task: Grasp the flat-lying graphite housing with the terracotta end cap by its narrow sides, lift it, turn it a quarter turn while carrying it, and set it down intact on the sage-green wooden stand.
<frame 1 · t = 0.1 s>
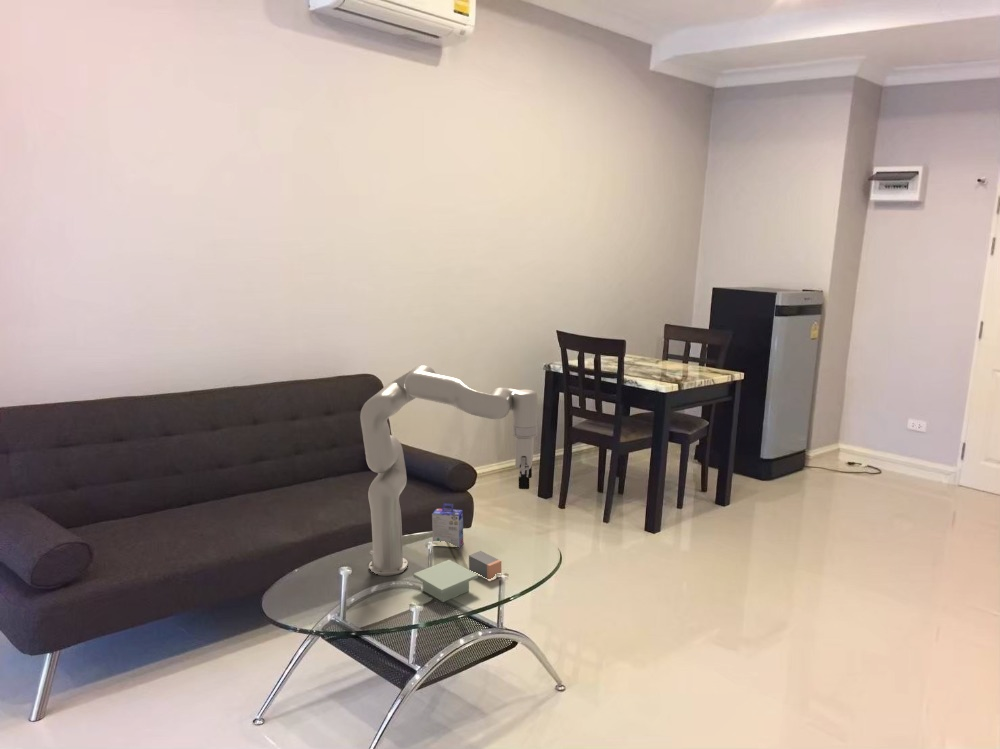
hand: (525, 483, 249), 31 cm above the table, tool pointing down, fingers open, 9 cm apart
housing: (485, 574, 258), on the table
ink cartridge box: (448, 545, 279), on the table
stand: (446, 590, 247), on the table
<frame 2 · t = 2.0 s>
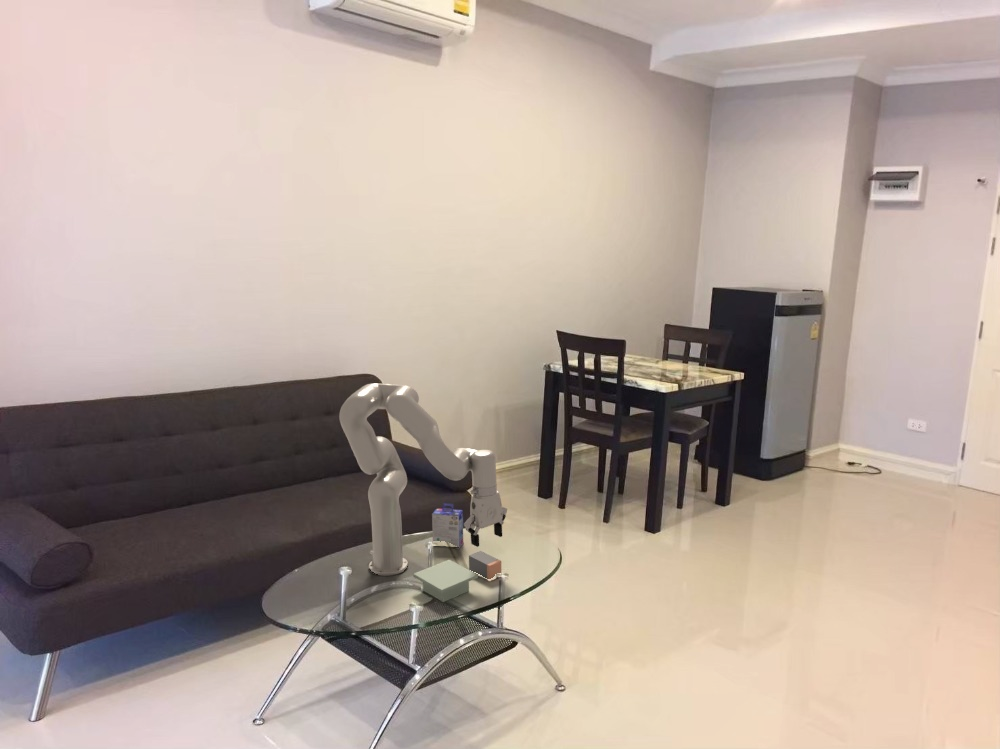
hand: (486, 540, 255), 12 cm above the table, tool pointing down, fingers open, 9 cm apart
nothing on the table moved.
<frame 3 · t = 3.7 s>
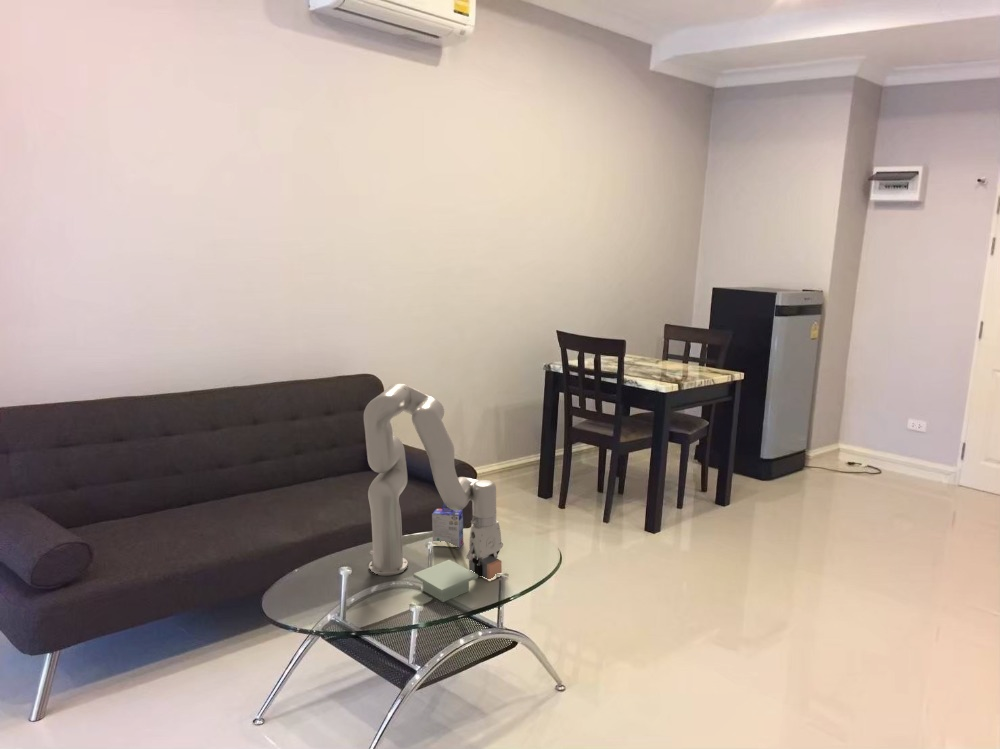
hand: (485, 571, 257), 1 cm above the table, tool pointing down, fingers closed on housing, 5 cm apart
housing: (485, 573, 257), on the table, touching gripper
everything else where it was.
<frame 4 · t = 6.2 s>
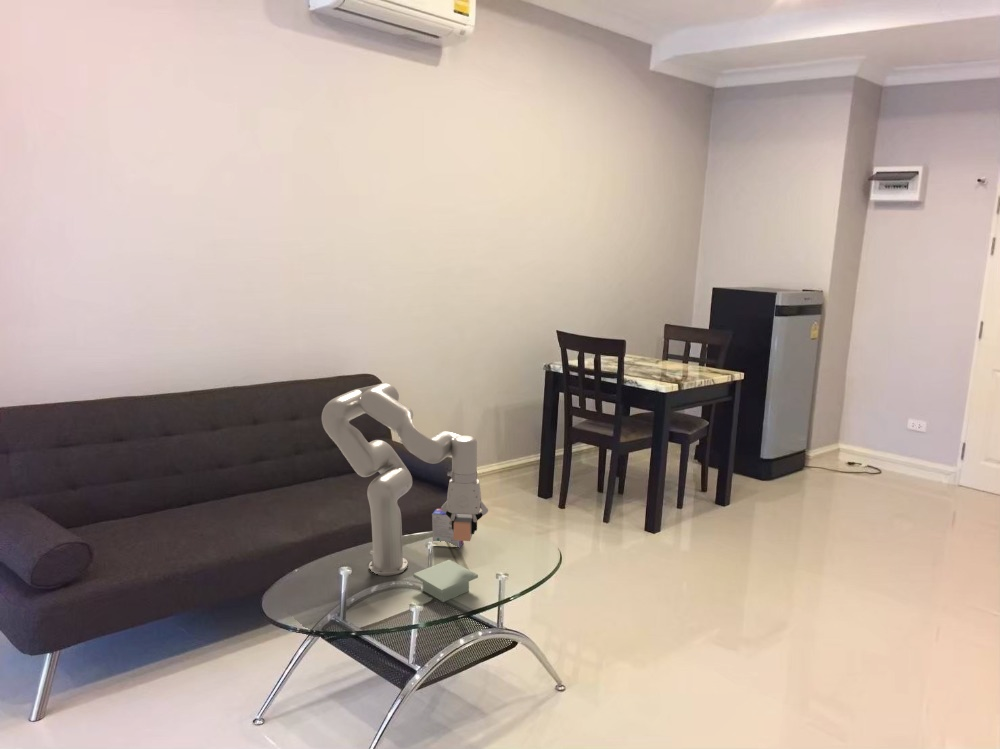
hand: (464, 531, 249), 17 cm above the table, tool pointing down, fingers closed on housing, 5 cm apart
housing: (464, 533, 249), point 16 cm above the table, touching gripper
everything else where it was.
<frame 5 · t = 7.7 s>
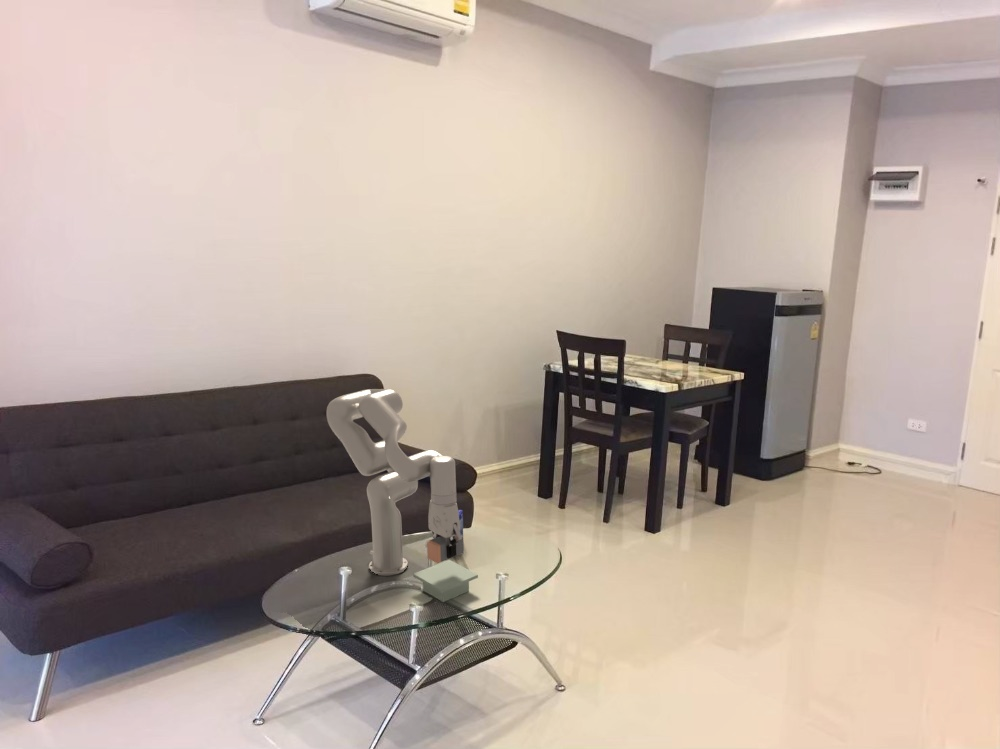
hand: (445, 553, 244), 13 cm above the table, tool pointing down, fingers closed on housing, 5 cm apart
housing: (445, 555, 244), point 12 cm above the table, touching gripper
everything else where it was.
when the fingers open (8 cm above the table, at t = 8.8 s): housing drops 2 cm, resting on stand.
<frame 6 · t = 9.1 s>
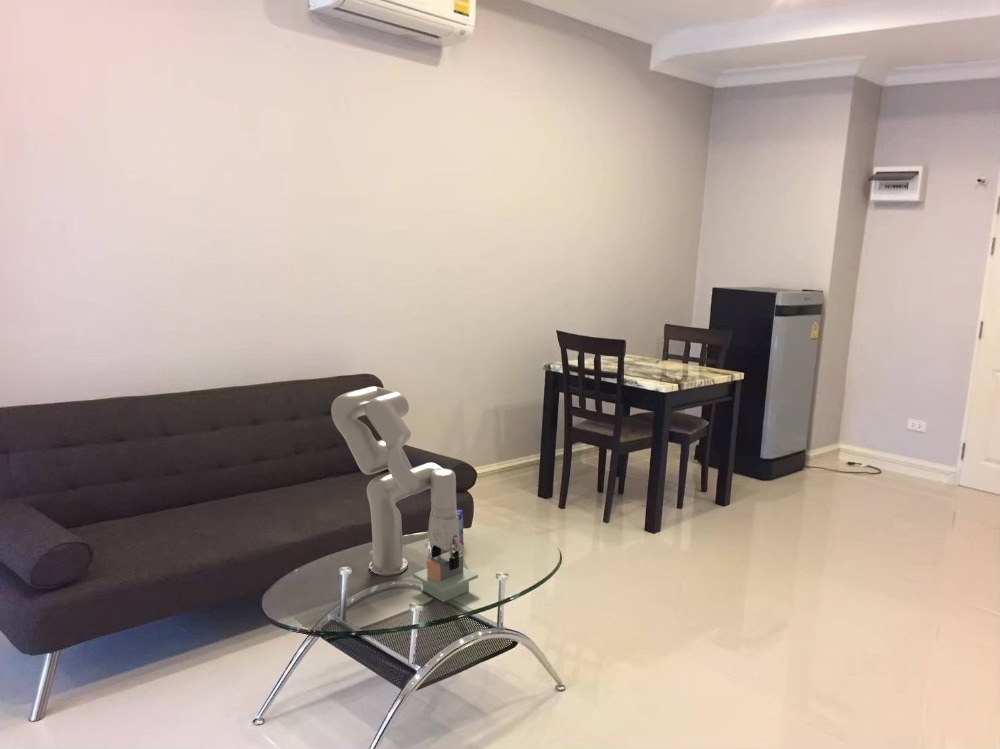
hand: (445, 563, 245), 9 cm above the table, tool pointing down, fingers open, 8 cm apart
housing: (445, 574, 246), point 5 cm above the table, touching stand
everything else where it was.
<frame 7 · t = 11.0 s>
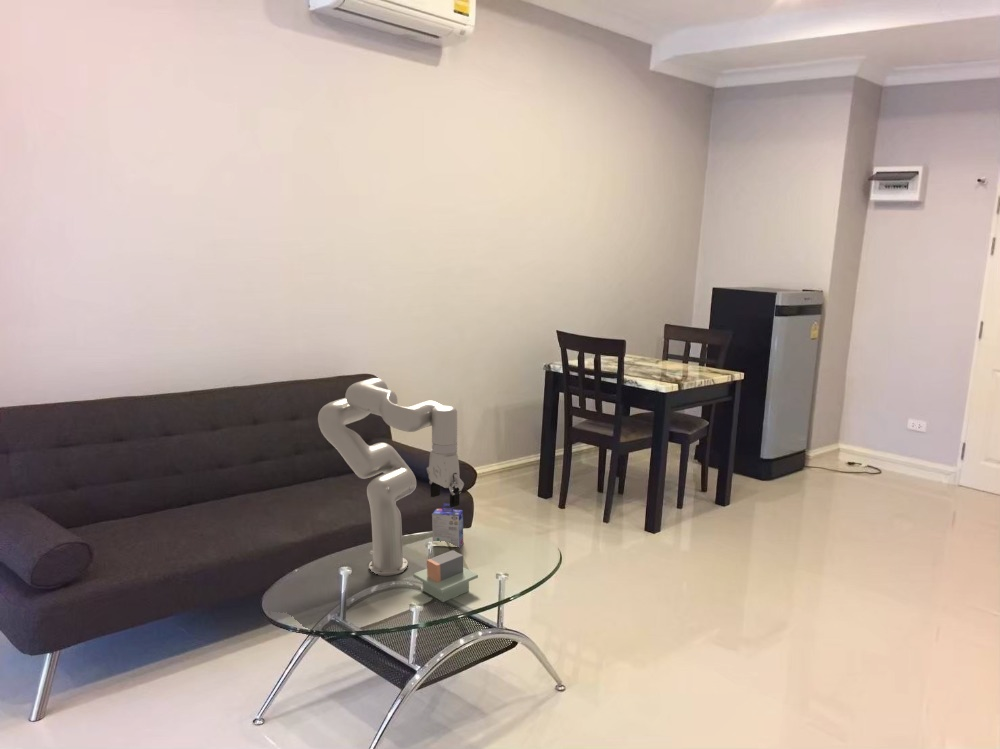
hand: (444, 501, 243), 28 cm above the table, tool pointing down, fingers open, 9 cm apart
nothing on the table moved.
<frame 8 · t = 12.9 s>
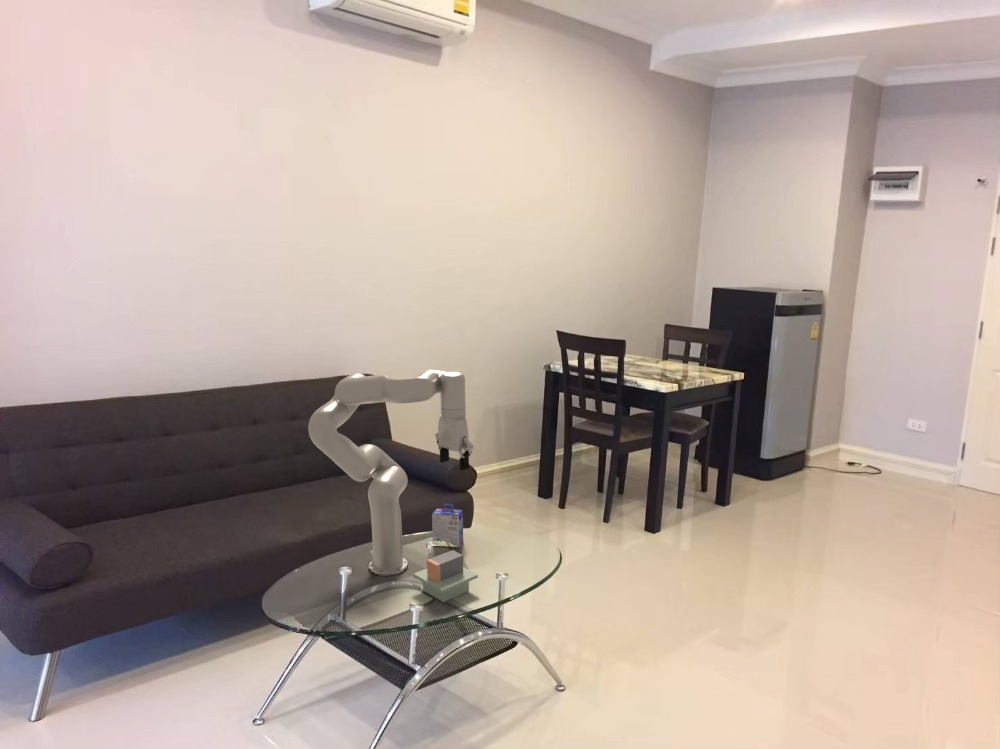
hand: (454, 465, 250), 36 cm above the table, tool pointing down, fingers open, 9 cm apart
nothing on the table moved.
at the end: housing inside the target area on the stand (0.1 cm from its centre), point 5.5 cm above the stand's base; housing tilted 0°; the gripper is holding nothing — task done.
